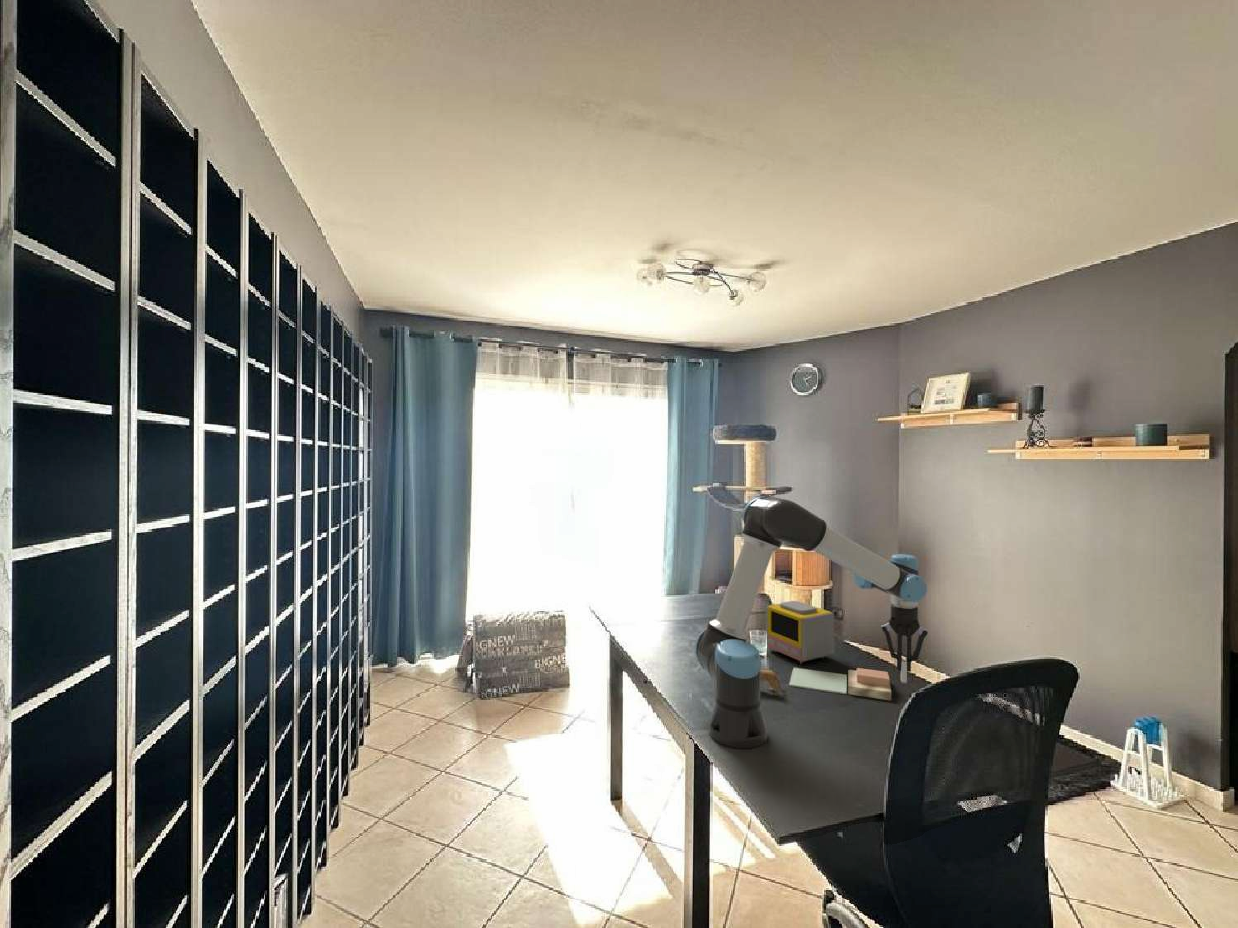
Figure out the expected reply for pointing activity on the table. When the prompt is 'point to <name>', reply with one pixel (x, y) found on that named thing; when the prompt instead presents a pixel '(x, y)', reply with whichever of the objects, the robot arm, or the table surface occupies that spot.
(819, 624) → the alarm clock
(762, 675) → the lion figurine
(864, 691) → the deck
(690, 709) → the table surface
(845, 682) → the mat
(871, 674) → the block
